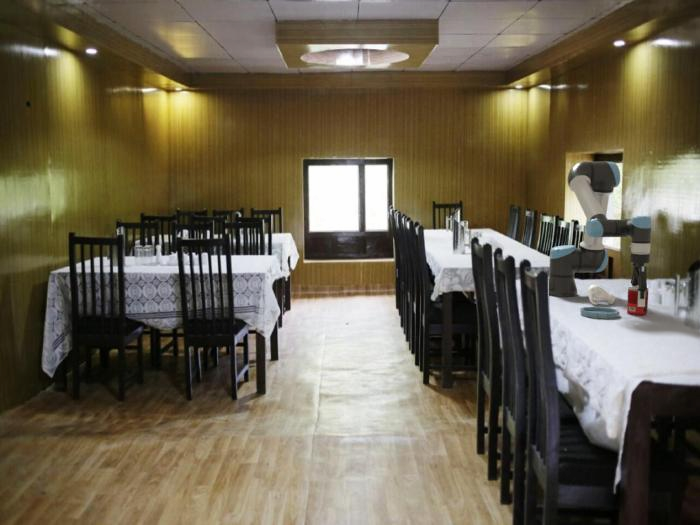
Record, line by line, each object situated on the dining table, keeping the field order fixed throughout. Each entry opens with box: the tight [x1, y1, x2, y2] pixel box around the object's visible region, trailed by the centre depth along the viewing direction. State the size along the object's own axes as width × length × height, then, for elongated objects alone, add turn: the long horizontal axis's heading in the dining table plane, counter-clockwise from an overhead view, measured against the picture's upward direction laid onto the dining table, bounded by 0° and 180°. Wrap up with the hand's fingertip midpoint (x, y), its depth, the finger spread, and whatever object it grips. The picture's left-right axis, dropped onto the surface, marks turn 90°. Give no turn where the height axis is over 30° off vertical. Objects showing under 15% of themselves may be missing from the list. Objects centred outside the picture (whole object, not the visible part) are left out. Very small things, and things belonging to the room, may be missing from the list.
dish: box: [579, 306, 620, 320], centre depth 319 cm, size 15×15×2 cm
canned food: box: [626, 286, 649, 317], centre depth 322 cm, size 8×8×11 cm
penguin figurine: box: [587, 284, 616, 306], centre depth 345 cm, size 6×8×12 cm
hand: (637, 304), depth 322 cm, fingers open, 13 cm apart
